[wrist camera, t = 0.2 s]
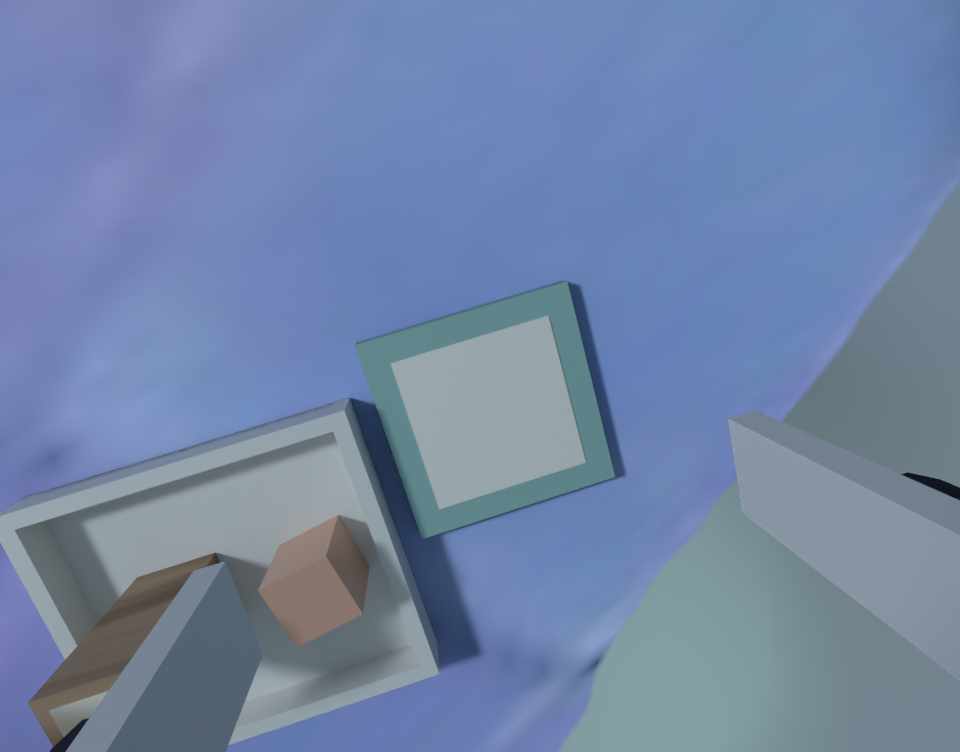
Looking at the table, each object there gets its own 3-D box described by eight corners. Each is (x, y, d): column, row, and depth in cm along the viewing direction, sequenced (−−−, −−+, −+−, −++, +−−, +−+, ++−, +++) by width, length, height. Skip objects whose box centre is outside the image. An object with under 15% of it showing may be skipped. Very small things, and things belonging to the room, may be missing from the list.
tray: (24, 497, 40) (-13, 519, 36) (350, 397, 41) (344, 410, 38) (151, 738, 45) (130, 778, 42) (437, 643, 46) (439, 674, 43)
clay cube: (279, 544, 42) (257, 590, 36) (338, 514, 42) (325, 556, 36) (312, 595, 43) (297, 647, 37) (369, 566, 43) (362, 614, 37)
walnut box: (137, 577, 41) (26, 704, 29) (215, 552, 41) (137, 667, 30) (169, 643, 43) (76, 788, 31) (245, 618, 43) (181, 753, 31)
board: (356, 342, 40) (354, 345, 39) (563, 280, 41) (567, 281, 40) (421, 531, 44) (422, 540, 43) (609, 471, 45) (615, 477, 44)
